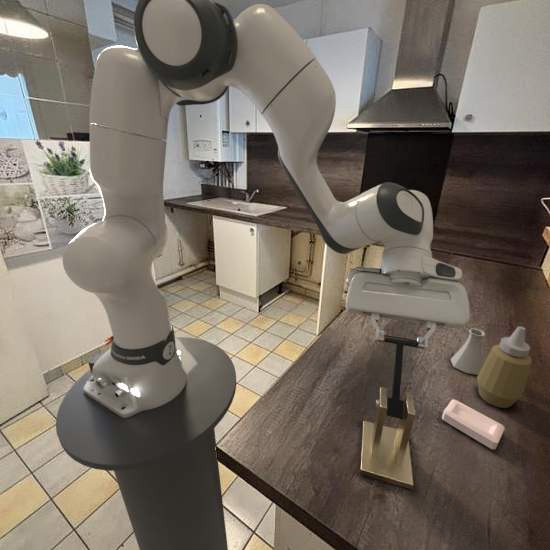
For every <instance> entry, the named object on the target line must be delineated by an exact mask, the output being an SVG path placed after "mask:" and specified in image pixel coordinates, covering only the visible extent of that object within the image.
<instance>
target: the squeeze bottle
mask: <svg viewBox="0 0 550 550" xmlns="http://www.w3.org/2000/svg"><path fill="white" fill-rule="evenodd" d="M530 351H531V346H530V345H529V344H528V343H527V342H526V328H525V327H524V326H520V325H519V326H517V327H516V328H515V330H514V331H513V332H512V334H510V336H504V337H502V338H501V339H500V342H499V344H494V345H493V346H492V347H491V349H490V351H489V353H488V355H487V357H486V359H485V360H484V362H483V366H482V368H481V370H480V372H479V374H478V375H476V376H477V377H476V381H477V382H476V383H477V390H478V394H479V396H480V397H481V399H482V400H484V401H485V402H486V403H488V404H489V405H491V406H494V407H496V408H500V409H507V408H510V407H512V405H514V404H515V403H516V402H518V401H519V400H520V399H522V398H523V396H524V392H525V388H526V384H527V380H528V378H529V377H528V376H529V373H530V369H531V366H532V361H533V359H532V358H531V356H530V355H529V353H530Z"/></svg>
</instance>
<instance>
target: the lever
mask: <svg viewBox="0 0 550 550" xmlns="http://www.w3.org/2000/svg"><path fill="white" fill-rule="evenodd" d="M383 343H389V344H393V345H395V352H394V363H393V364H394V365H393V375H392V377H393V378H392V379H393V380H392V388H391V389H392V390H391V397H387V411H386V416H387V417H389V418H395V419H398V420H399V419H402V420H403V409H404V399H403V400H402V399H401V385H402V370H403V357H404V346H406V347H411V348H416V349H418V348H417V345H418V341H417V339H412V338H411V339H410V338H403V337H398V336H392V335H387V334H385V335H384V342H383Z"/></svg>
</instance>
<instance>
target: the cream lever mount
mask: <svg viewBox="0 0 550 550" xmlns="http://www.w3.org/2000/svg"><path fill="white" fill-rule="evenodd" d="M387 393H388V392H387V387H383V386H380V387H379V392H378V397H377V399H375V402H374V408H375V413H374V418H373V422H371V421H367V420H363V421H362V434H361V451H360V467H359V468H360V469H359V470H360V471H359V474H360V475H362V476H365V477H368V478H372V479H375V480H378V481H381V482H385V483H388V484H391V485H395V486H398V487H401V488H405V489H408V490H413V489H414V479H413V478H414V477H413V467H412V458H411V448H410V436H411V432H412V428H413V424H414V421H415V418H416V415H417V411H416V410H417V409H416V407H415V405H414V404H415V403H414V397H413V393H410V392H405V394H404V398H403V401H404V409H403V420H402V419H398V425H397V428H394V427H391V426H387V425H385V422H386V416H387V415H386V411H387V399H388V394H387Z"/></svg>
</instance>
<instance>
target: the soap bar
mask: <svg viewBox="0 0 550 550" xmlns="http://www.w3.org/2000/svg"><path fill="white" fill-rule="evenodd" d="M441 419H442V421H443V422H445V423H447V424H449V426H452V427H453V428H455V429H457V430H459V431H460V432H462V433H463V434H465V435H467V436H469V437H470V438H472V439H473V440H475V441H477V442H478V443H481V444H482V445H484V446H485V447H487V448H489V449H490V450H496V449H497V448H498V445H499V443H500V440H501V438H502V437H503V434H504V432H505V429H506V428H505V426H504V425H503V424H501V423H500V422H498V421H496V420H494V419H492V418H490V417H489V416H487V415H485V414H483V413H481V412H479V411H478V410H475V409H474V408H471V407H470V406H468V405H466V404H464V403H462V402H461V401H459V400H457V399H454V398H453V399H451V400H450V401H449V403H448V404H447V405H446V407H445V408H444V409H443V412H442V415H441Z"/></svg>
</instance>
